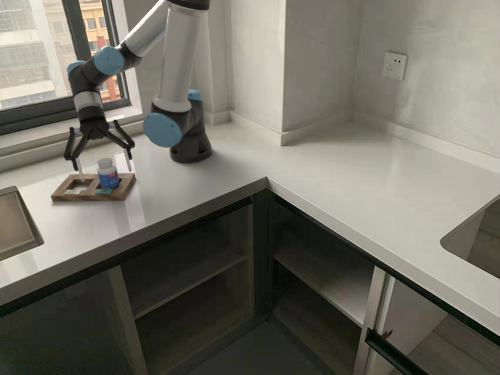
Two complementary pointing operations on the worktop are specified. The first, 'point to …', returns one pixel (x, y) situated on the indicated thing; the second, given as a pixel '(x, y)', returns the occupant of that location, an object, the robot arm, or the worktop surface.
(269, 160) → the worktop surface
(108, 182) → the pill bottle
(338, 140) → the worktop surface
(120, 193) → the socket plate
